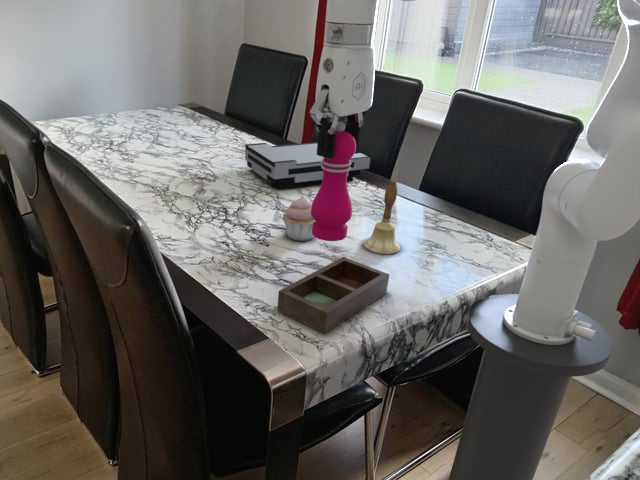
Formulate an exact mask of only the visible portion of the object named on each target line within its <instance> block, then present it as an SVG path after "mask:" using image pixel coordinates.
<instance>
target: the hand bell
mask: <svg viewBox="0 0 640 480" xmlns="http://www.w3.org/2000/svg"><path fill="white" fill-rule="evenodd" d="M397 196H398V187H397V180H395V179H390V180H389V183H388V184H387V186H386V188H385V191H384V199H383V201H384V211H383V215H382V219H381V221H378V222H376V223H375V225H374V228H373V231H372V233H371V235H370V237H369V238H367V239H365V241H364V243H363V246H364V248H365V249H367V250H368V251H370V252H373V253H376V254H382V255H392V254H393V255H394V254H396V253H398V252H399V251H400V250H401V246H400V244H399V243H398V242H397V240H396V226H395V225H394V224H393V223H392V222H391V216H392V210H393V206H394V204H395V203H396V200H397Z"/></svg>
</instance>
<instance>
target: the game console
mask: <svg viewBox="0 0 640 480" xmlns="http://www.w3.org/2000/svg"><path fill="white" fill-rule="evenodd" d="M317 143H318V141H312V142H303V143H292V144H291V143H290V144H280V145H270V144H268V143H267V142H258V143H247V144H246V143H245V146H244V160H246V166H247V167H248V168H250V169H251V170H252V172H253V173H255V174H257V175H258V176H259V177H261V178H263V179H264V180H266V181H268V182H270V185H272V186H273V187H275V188H276V189H277V190H279V191H283V190H290V189H297V188H298V189H300V188H306V187H307V188H308V187H314V186H315V187H316V186H321V183H322V179H323V169H322V168H321V165H322V162H321V161H322V159H323V158H324V157H322V156H318V155H317ZM350 161H351V165H350V167H351V169H350V170H349V171H348V174H347V183H348V182H353V181H354V180H353V179H354V176H359V175H361V170H369V169H370V165H371V157H370V156H368V155H367V154H364V153H361V152H358V153H355V154H354V155H353V156H352V157H351V158H350Z"/></svg>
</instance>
